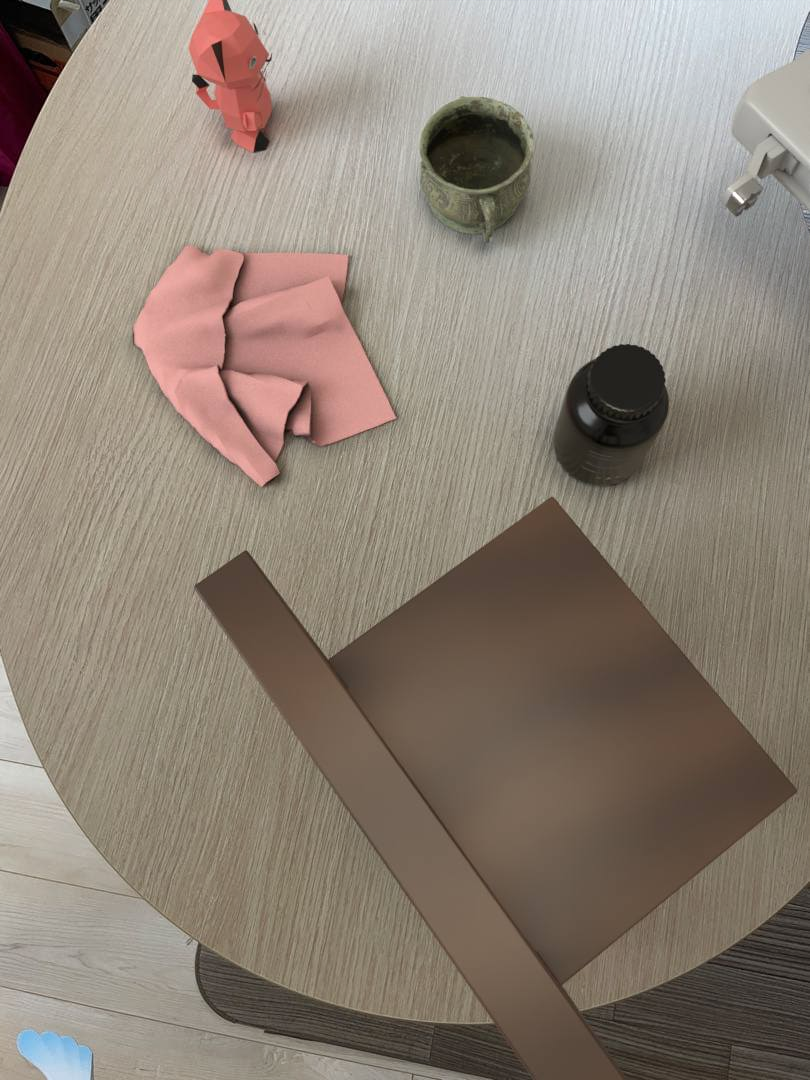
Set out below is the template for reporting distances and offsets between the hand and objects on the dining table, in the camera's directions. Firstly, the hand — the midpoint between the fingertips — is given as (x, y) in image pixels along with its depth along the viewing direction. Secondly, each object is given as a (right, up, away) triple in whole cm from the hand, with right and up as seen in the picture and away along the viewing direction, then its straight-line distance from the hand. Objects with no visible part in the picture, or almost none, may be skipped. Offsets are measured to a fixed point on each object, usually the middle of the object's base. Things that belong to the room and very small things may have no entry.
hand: (780, 255), depth 59 cm
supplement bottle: (-9, -11, +12) cm, 18 cm away
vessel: (-18, +10, +18) cm, 27 cm away
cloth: (-34, -4, +15) cm, 38 cm away
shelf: (-17, -33, +5) cm, 38 cm away
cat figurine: (-37, +17, +21) cm, 45 cm away
